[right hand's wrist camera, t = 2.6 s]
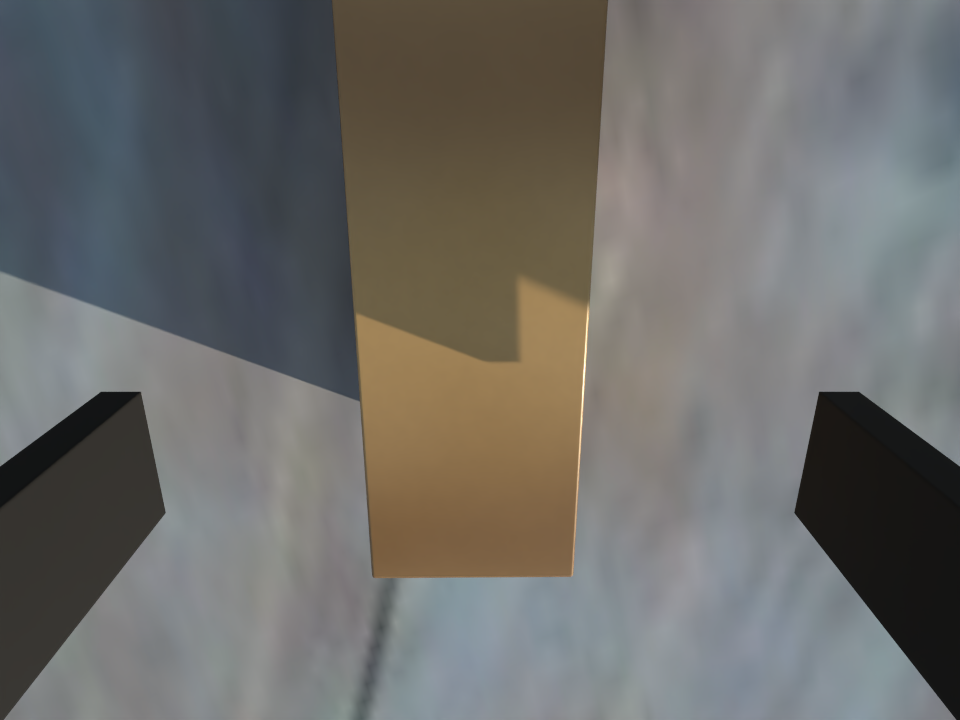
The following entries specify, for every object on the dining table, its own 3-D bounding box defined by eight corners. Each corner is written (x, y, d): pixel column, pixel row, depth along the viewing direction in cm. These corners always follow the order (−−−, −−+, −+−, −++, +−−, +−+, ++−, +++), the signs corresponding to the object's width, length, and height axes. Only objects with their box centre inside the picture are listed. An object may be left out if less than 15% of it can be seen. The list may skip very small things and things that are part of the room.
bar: (538, 419, 25) (573, 577, 16) (407, 420, 25) (372, 579, 16) (568, -451, 16) (674, -1085, 8) (369, -453, 16) (253, -1093, 8)
